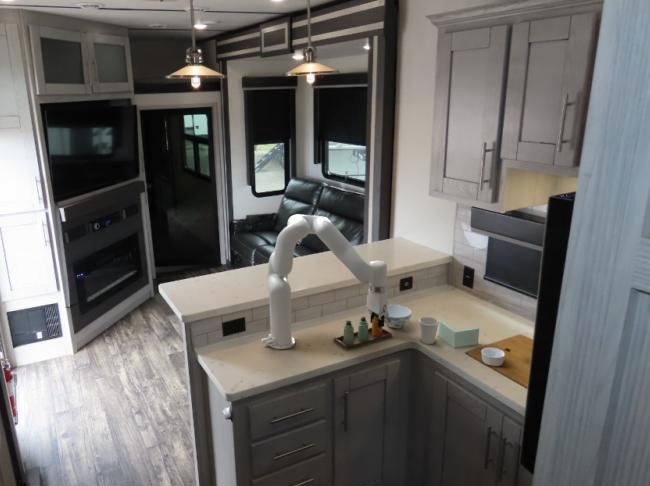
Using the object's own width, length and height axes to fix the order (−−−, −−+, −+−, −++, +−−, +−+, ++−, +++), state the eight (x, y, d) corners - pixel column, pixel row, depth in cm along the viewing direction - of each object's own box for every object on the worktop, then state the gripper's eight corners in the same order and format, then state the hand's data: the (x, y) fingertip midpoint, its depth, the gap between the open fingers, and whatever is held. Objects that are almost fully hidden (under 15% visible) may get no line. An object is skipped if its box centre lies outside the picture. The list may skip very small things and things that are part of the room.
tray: (346, 350, 224) (346, 346, 223) (333, 341, 233) (333, 337, 232) (391, 337, 234) (392, 333, 234) (377, 329, 243) (377, 325, 243)
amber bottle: (376, 337, 234) (376, 316, 231) (369, 333, 238) (370, 313, 235) (384, 335, 236) (384, 314, 233) (377, 331, 240) (378, 311, 237)
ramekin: (477, 362, 209) (477, 352, 208) (485, 354, 215) (486, 345, 214) (499, 369, 203) (500, 359, 202) (507, 361, 209) (508, 351, 208)
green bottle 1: (347, 346, 227) (347, 324, 224) (341, 341, 231) (341, 320, 228) (355, 343, 229) (355, 322, 226) (349, 339, 233) (349, 318, 230)
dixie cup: (435, 346, 224) (436, 326, 221) (416, 342, 228) (416, 322, 225) (439, 339, 230) (440, 318, 228) (421, 335, 235) (422, 315, 232)
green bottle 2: (361, 341, 230) (362, 320, 228) (355, 337, 234) (355, 316, 232) (370, 339, 232) (370, 318, 230) (363, 335, 236) (364, 314, 234)
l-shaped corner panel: (478, 344, 224) (479, 328, 222) (453, 347, 222) (454, 332, 220) (461, 332, 236) (462, 317, 234) (438, 336, 233) (439, 321, 231)
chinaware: (379, 331, 240) (380, 316, 238) (378, 318, 254) (378, 304, 252) (412, 333, 237) (413, 317, 235) (409, 319, 252) (409, 305, 250)
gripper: (359, 283, 236) (359, 319, 241) (383, 295, 222) (382, 333, 226) (372, 280, 240) (372, 316, 244) (396, 291, 225) (395, 329, 229)
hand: (377, 324), depth 235 cm, fingers closed on amber bottle, 4 cm apart
